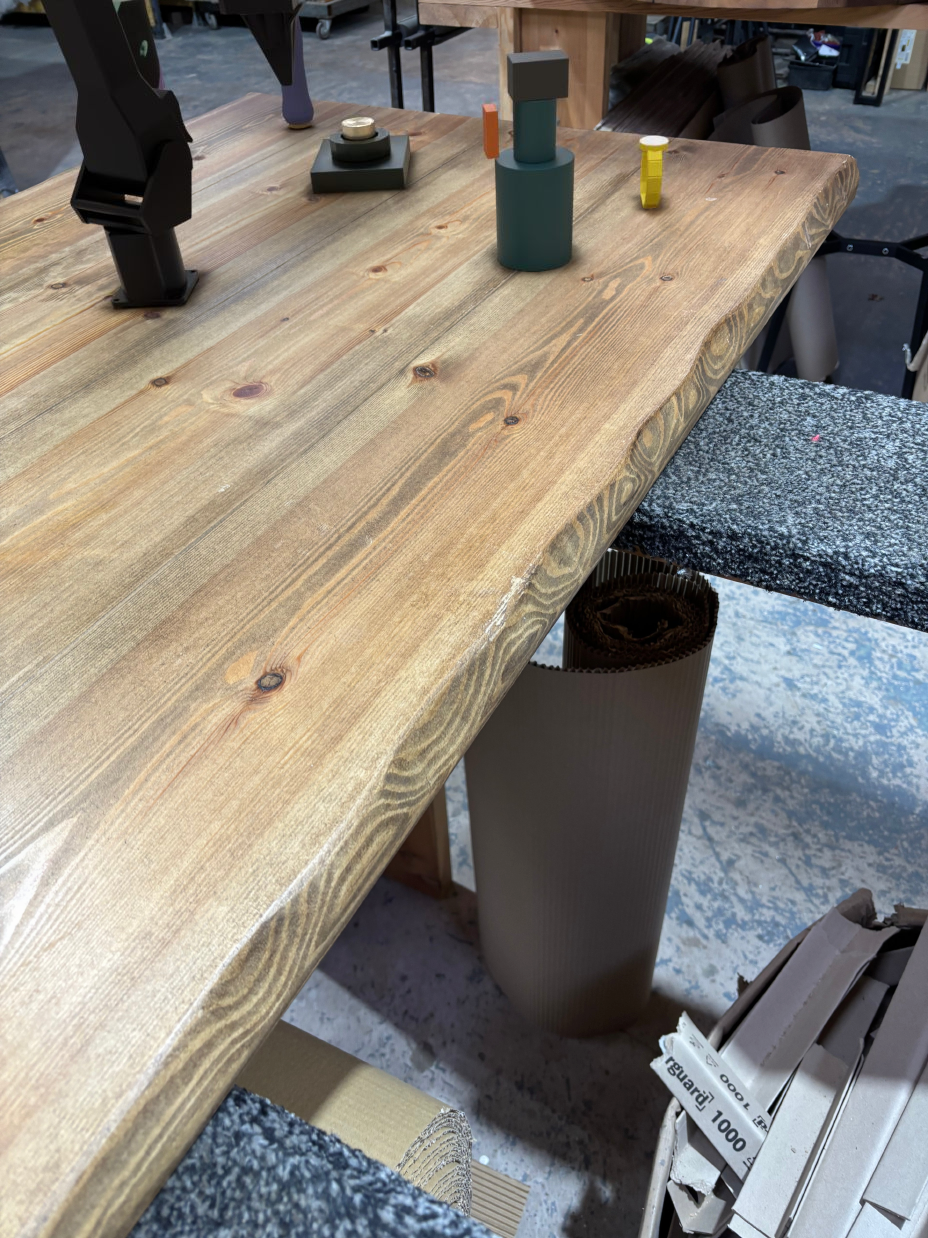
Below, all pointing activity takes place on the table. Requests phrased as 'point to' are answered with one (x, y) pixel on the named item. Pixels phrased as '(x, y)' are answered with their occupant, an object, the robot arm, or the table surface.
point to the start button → (358, 129)
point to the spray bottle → (535, 168)
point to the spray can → (140, 40)
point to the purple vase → (297, 91)
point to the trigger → (490, 130)
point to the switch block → (361, 163)
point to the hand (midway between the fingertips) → (287, 84)
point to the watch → (651, 169)
